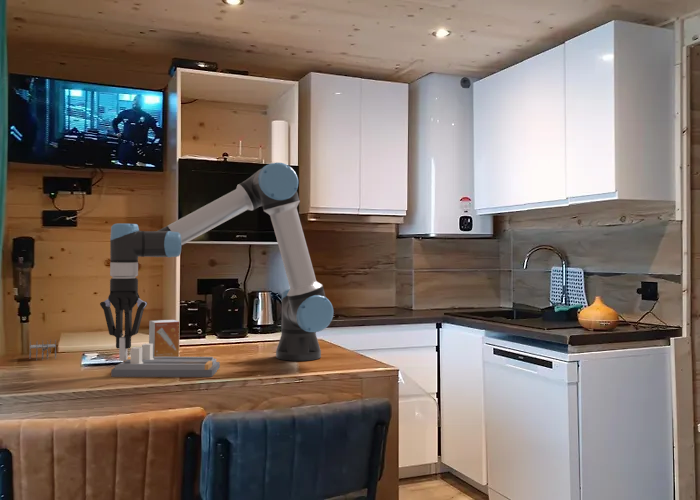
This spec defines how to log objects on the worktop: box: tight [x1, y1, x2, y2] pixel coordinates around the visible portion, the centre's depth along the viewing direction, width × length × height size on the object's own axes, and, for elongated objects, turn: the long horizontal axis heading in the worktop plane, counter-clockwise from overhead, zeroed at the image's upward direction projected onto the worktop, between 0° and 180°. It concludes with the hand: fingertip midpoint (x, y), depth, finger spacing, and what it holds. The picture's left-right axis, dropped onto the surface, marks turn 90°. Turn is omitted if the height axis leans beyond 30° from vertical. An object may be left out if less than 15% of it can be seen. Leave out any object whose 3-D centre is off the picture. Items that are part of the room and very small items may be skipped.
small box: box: [148, 319, 180, 357], centre depth 200 cm, size 8×6×13 cm
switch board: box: [110, 356, 221, 378], centre depth 182 cm, size 28×13×4 cm, turn 92°
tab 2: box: [141, 342, 154, 360], centre depth 185 cm, size 3×3×5 cm
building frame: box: [29, 339, 57, 361], centre depth 203 cm, size 6×8×6 cm
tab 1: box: [130, 346, 143, 364], centre depth 178 cm, size 3×3×5 cm
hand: (123, 359), depth 178 cm, fingers closed
